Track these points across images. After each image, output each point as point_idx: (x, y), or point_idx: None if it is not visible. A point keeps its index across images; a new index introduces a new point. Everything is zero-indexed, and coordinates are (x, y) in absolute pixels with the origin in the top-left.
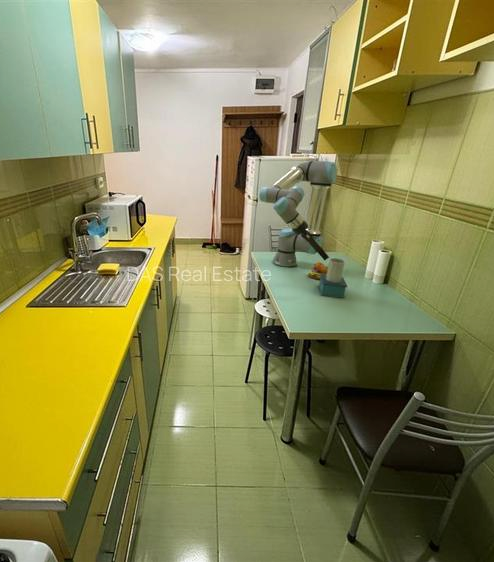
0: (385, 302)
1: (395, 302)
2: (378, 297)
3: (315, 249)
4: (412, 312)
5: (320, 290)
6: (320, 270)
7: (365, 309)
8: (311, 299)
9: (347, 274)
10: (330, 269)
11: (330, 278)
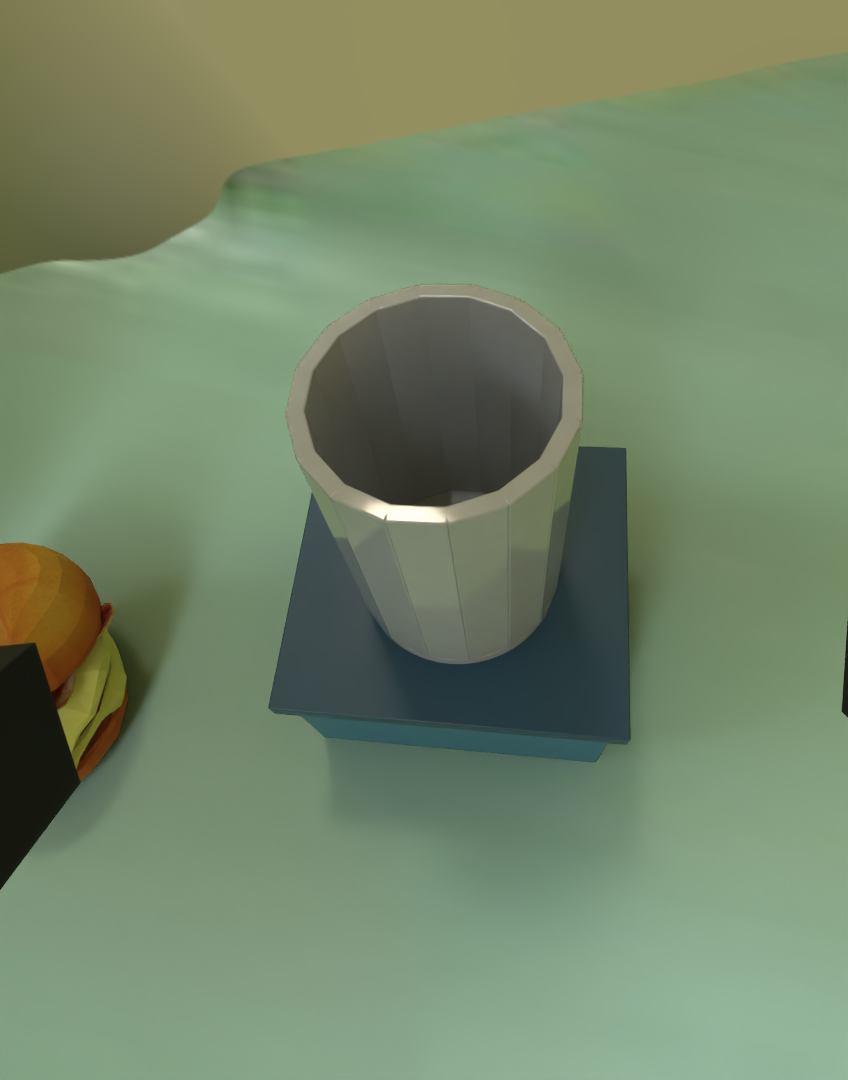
0: (593, 242)
1: (570, 186)
2: (504, 264)
3: (19, 827)
4: (717, 137)
5: (482, 749)
6: (65, 663)
7: (806, 405)
8: (776, 930)
9: (3, 381)
10: (517, 575)
11: (541, 611)
